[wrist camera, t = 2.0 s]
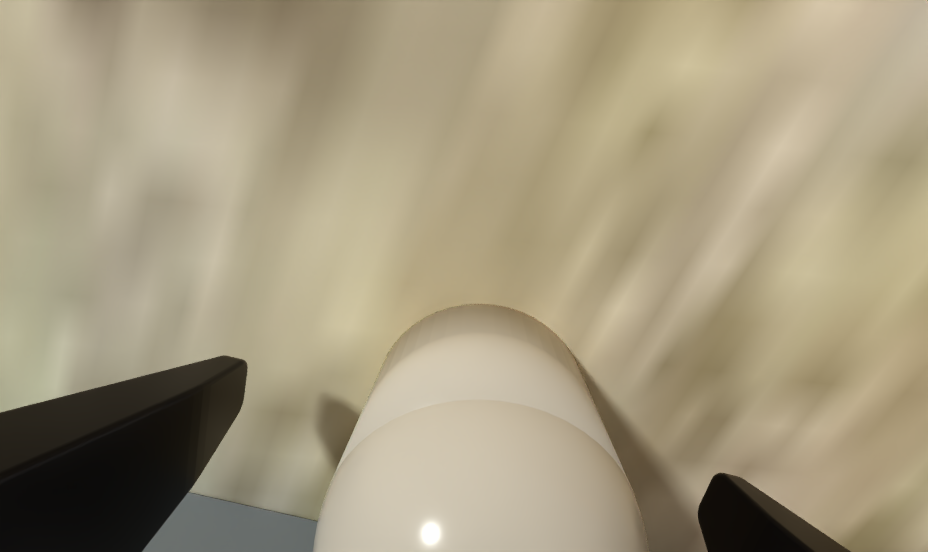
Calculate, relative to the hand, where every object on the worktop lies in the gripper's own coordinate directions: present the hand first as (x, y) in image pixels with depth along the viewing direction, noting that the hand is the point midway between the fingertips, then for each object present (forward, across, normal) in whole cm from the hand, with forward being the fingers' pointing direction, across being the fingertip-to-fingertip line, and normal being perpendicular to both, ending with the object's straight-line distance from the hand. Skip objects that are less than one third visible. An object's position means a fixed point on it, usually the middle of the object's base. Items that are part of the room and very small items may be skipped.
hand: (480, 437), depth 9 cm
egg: (+1, 0, 0) cm, 1 cm away
